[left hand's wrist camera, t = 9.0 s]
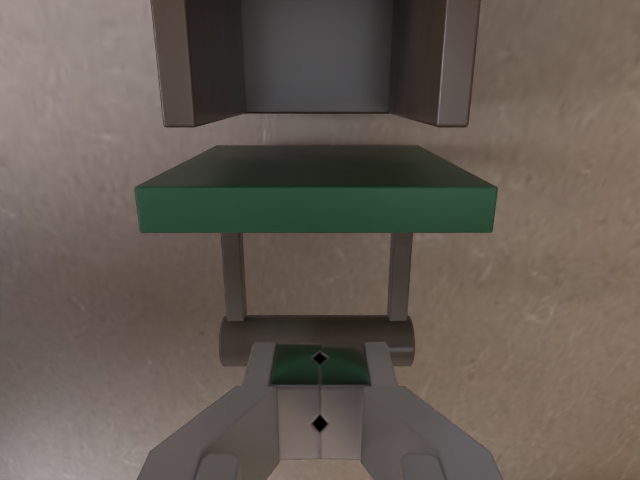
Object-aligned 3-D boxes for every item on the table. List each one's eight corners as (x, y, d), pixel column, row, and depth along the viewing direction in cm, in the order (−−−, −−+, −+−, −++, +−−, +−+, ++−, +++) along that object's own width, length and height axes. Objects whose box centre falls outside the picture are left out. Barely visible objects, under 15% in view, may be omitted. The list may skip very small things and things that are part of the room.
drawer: (409, 286, 22) (470, 415, 13) (225, 286, 22) (162, 415, 13) (446, -255, 16) (610, -702, 7) (187, -256, 16) (17, -705, 7)
